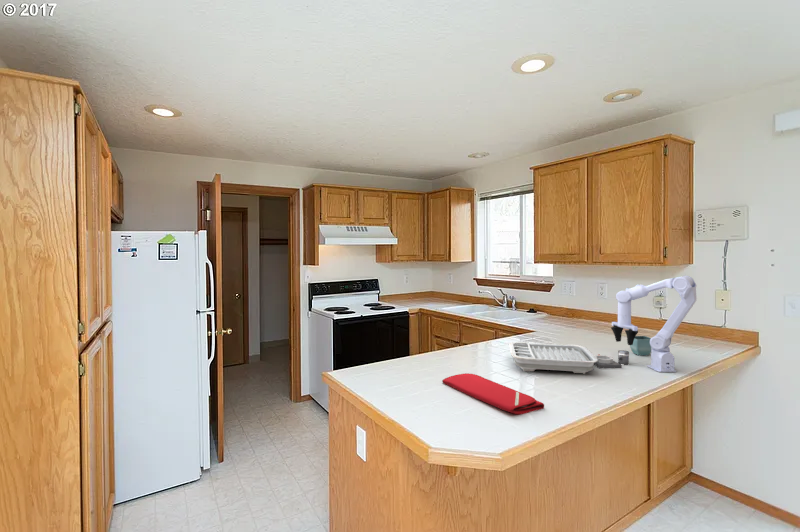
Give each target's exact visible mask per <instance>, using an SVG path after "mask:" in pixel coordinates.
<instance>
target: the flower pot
mask: <svg viewBox="0 0 800 532" xmlns="http://www.w3.org/2000/svg"><path fill="white" fill-rule="evenodd" d="M651 338H652V337H649V336H646V335H636V336H635V338H634V341H633V345H629V348H630V350H631V351H632V353H633V354H634V355H636V354H637V356H639V355H640V356H646V355H647V356H649V355H651V345H650V339H651Z"/></svg>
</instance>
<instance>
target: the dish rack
mask: <svg viewBox="0 0 800 532" xmlns="http://www.w3.org/2000/svg"><path fill="white" fill-rule="evenodd" d="M508 345H509V351H510V354H511V356H512V357H513V361H514V363H515V365H516V366H518V367H519V368H520V369H522V371H523V372H530V371H533V372H534V371H535V370H547V371H549V370H550V371H563V372H564V371H566V372H573V374H575V373H583V374H582V375H585V374H586V373H588V372H590V371H593V370H594V366H595V365H594V363H595V362H597V361H598V359H597V358H596V357H595V356H596V355H594V354H593V352H591V351H590V350H589V348H587V347H586V346H583V345H579V344H567V343H566V344H561V343H560V344H558V343H537V342H523V341H512V342H510V343H509V344H508Z"/></svg>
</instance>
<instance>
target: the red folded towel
mask: <svg viewBox="0 0 800 532" xmlns="http://www.w3.org/2000/svg"><path fill="white" fill-rule="evenodd" d="M441 382H442V384H445V385H447V386H449V387H451V388H453V389H454V390H458V391H459V392H461V393H463V394H466V395H468V396H470V397H471V398H474V399H476V400H479V401H481V402H483V403H485V404H489V405H491V406H493V407H496V408H498V409H500V410H502V411H505V412H508V413H511V414H515V415H525V414H527V413H528V414H529V413H532V412H536V411H539V410H544V408H545V403H544V402H542V401H539V400H537V399H536V398H535V397H533V396H531V395H529V394H526V393H523V392H520V391H518V390H516V389H513V388H511V387H508V386H507V385H506V386H505V385H502V384H500V383H498V382H495V381H493V380H490V379H488V378H485V377H482V376H481V375H477V374H475V373H467V372H466V373H458V374H455V375H451V376H446V377H445V378H444V379H442V381H441Z"/></svg>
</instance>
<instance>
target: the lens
mask: <svg viewBox="0 0 800 532" xmlns="http://www.w3.org/2000/svg"><path fill="white" fill-rule="evenodd" d="M617 351H618V352H617V363H619V364H624V365H623V366H628V364H629V363H630V362H629V360H630V352H629V351H628V350H623V349H621V350H617Z"/></svg>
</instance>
